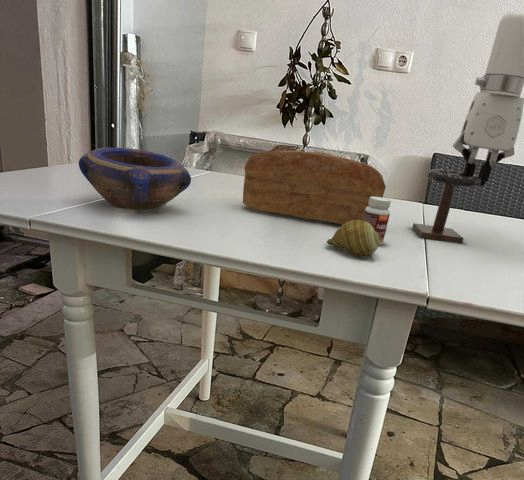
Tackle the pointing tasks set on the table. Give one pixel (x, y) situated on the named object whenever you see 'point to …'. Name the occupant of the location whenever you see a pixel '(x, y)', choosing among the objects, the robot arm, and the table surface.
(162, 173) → the bowl
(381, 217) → the pill bottle
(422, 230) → the stand
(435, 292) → the table surface
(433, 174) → the ring
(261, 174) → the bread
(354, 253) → the seashell
